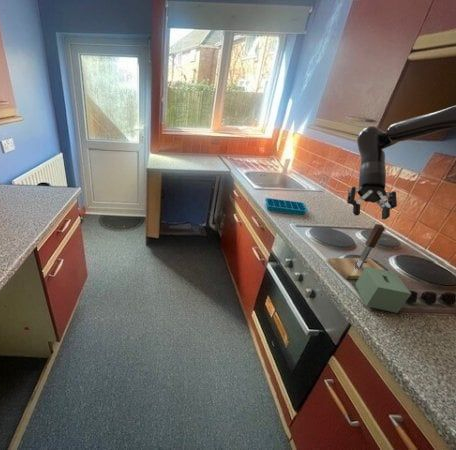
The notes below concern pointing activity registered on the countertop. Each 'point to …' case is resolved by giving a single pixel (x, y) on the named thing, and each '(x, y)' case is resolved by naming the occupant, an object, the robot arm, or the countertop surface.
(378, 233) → the knife
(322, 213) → the countertop surface
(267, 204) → the ice cube tray
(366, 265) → the cutting board
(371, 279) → the grey-green block
